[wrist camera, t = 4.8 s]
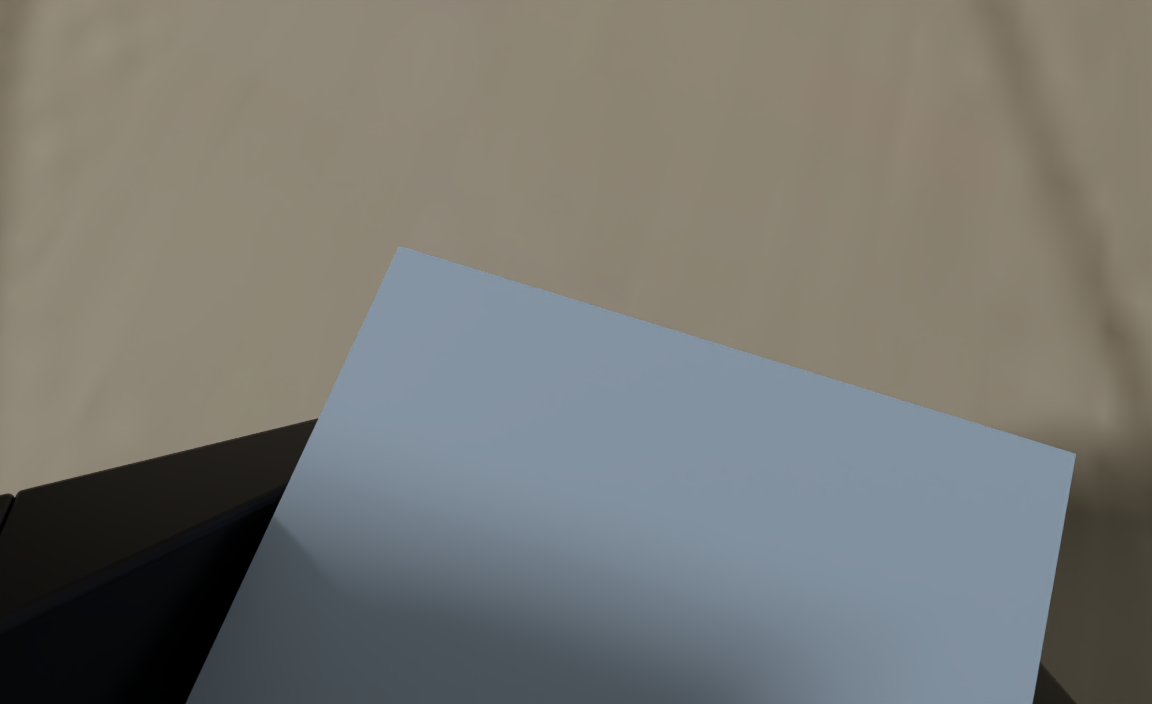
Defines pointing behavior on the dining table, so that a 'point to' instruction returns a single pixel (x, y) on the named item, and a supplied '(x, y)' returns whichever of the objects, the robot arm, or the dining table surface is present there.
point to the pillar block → (632, 524)
